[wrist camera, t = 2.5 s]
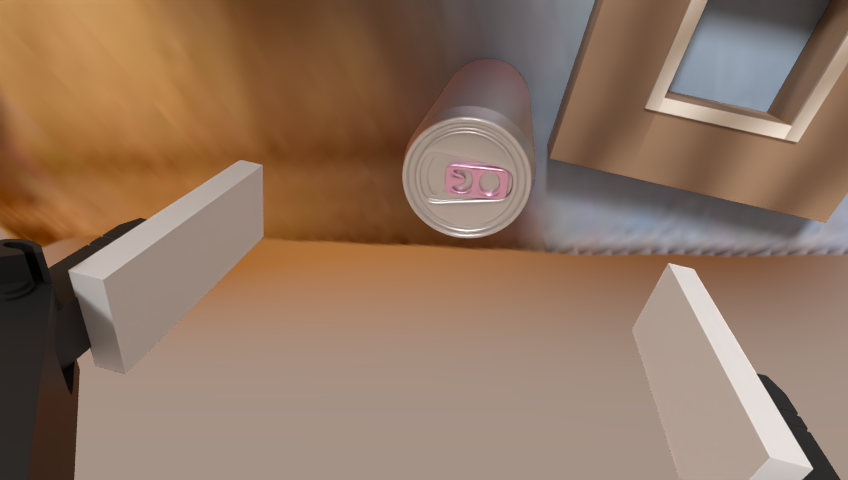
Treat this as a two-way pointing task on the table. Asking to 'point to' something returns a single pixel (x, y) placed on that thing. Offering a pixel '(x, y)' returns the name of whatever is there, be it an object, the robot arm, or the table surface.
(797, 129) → the board
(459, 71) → the beverage can
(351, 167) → the table surface
